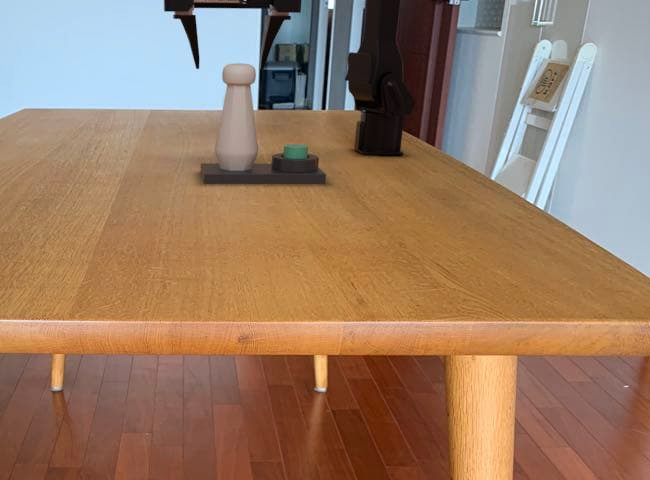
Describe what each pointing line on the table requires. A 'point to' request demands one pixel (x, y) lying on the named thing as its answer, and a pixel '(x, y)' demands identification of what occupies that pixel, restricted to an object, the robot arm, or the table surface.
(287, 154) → the button
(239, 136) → the salt shaker
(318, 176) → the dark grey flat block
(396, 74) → the robot arm
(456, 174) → the table surface
